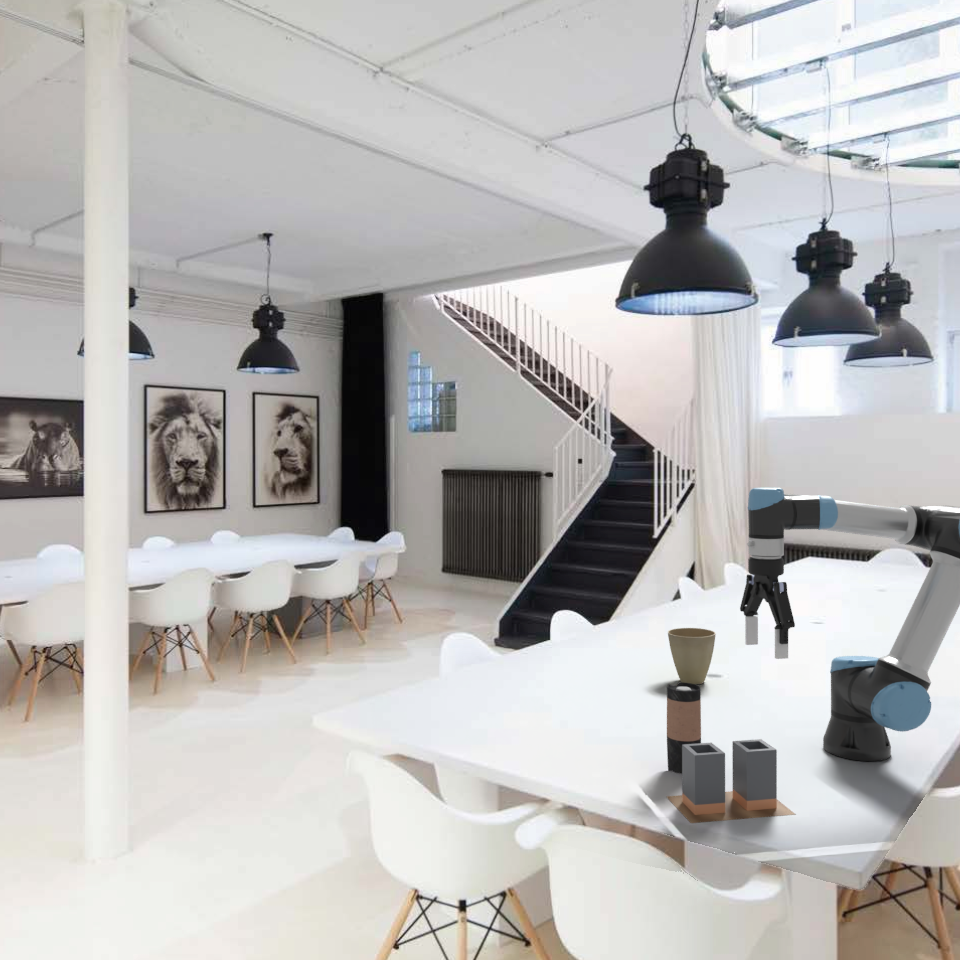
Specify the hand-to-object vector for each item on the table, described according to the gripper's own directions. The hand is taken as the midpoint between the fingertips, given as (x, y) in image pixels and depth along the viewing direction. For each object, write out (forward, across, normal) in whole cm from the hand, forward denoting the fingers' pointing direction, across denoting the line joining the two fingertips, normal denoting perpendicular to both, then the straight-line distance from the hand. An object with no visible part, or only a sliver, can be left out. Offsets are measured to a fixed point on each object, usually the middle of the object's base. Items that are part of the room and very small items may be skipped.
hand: (766, 651), depth 189 cm
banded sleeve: (+28, +15, -22) cm, 38 cm away
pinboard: (+29, +15, -16) cm, 36 cm away
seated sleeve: (+28, +15, -10) cm, 33 cm away
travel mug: (+29, -6, -17) cm, 34 cm away
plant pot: (+29, -79, +16) cm, 86 cm away
